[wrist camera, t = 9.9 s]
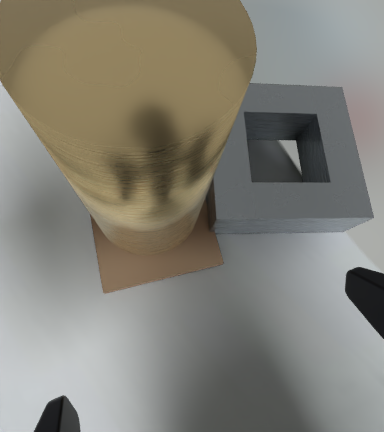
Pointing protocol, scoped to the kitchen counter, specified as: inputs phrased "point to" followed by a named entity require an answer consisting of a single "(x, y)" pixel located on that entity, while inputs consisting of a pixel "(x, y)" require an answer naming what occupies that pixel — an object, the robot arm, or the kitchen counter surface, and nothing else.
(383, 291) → the robot arm
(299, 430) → the kitchen counter surface
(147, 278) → the mat
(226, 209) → the housing
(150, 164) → the gold metal cylinder
